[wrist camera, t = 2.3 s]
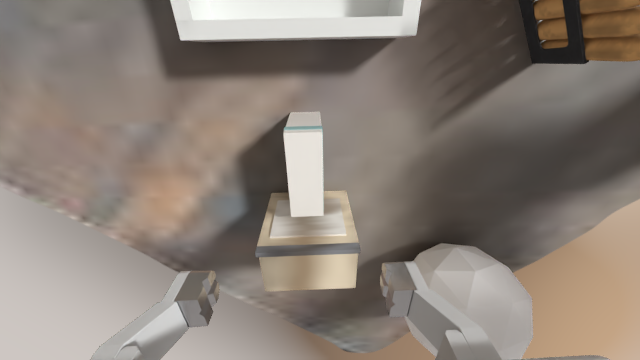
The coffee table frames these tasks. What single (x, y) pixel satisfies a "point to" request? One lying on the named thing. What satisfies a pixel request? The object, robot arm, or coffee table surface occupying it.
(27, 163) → the coffee table surface
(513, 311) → the geodesic sphere
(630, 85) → the coffee table surface
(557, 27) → the ammunition clip
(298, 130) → the teal-striped white carton
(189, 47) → the coffee table surface
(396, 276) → the robot arm
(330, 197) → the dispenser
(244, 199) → the coffee table surface
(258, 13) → the tray
